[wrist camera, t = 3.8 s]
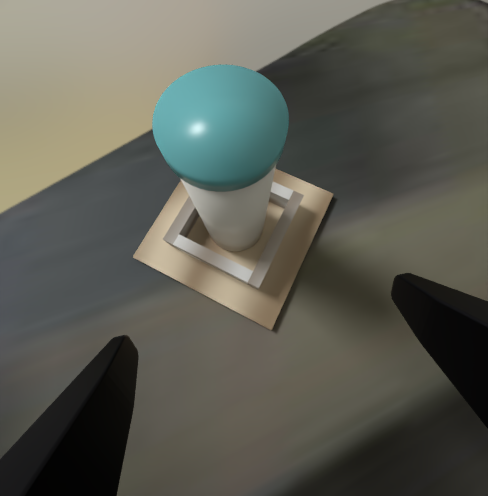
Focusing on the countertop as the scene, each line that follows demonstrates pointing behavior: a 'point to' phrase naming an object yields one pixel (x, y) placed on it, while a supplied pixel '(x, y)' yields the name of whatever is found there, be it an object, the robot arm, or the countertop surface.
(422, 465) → the countertop surface
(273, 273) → the housing
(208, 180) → the white tall cylindrical piece
